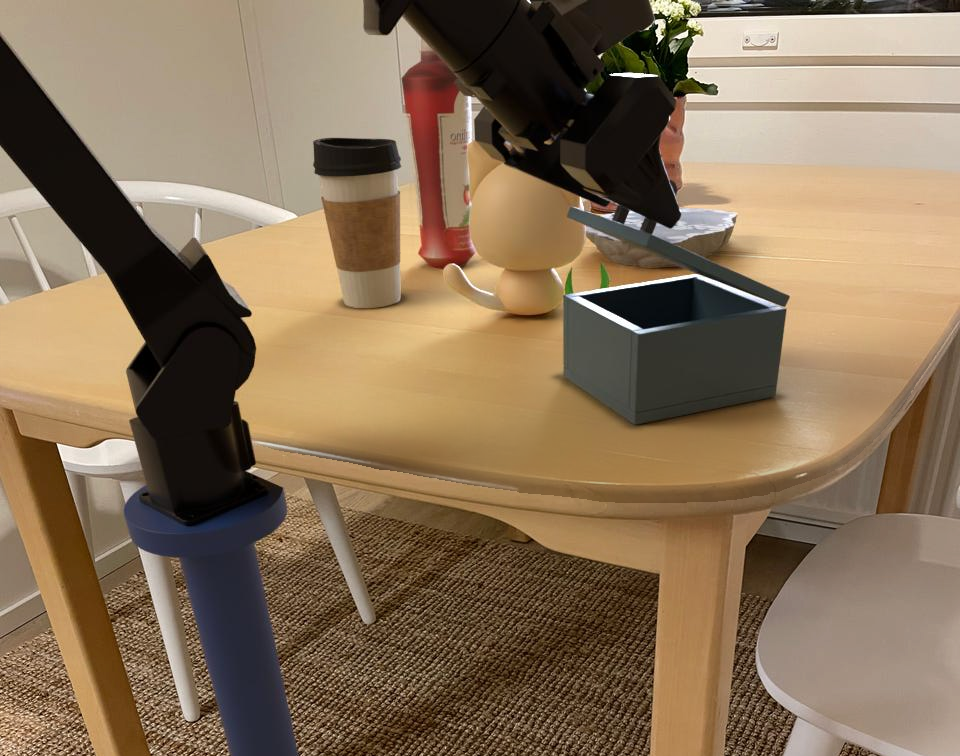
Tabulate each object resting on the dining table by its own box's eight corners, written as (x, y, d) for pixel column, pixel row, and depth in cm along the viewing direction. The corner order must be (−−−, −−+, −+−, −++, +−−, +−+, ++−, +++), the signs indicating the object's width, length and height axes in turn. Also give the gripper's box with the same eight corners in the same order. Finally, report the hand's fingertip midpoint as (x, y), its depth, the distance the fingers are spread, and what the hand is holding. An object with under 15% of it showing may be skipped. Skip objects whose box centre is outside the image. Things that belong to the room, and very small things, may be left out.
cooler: (634, 425, 67) (638, 334, 64) (562, 376, 76) (562, 294, 73) (775, 397, 70) (787, 308, 67) (690, 353, 80) (696, 273, 76)
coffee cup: (336, 292, 102) (316, 135, 94) (415, 288, 102) (401, 130, 94) (327, 314, 95) (303, 147, 87) (411, 309, 95) (396, 141, 87)
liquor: (437, 254, 115) (417, -29, 99) (490, 257, 112) (478, -33, 96) (405, 268, 110) (378, -28, 94) (460, 272, 107) (442, -33, 91)
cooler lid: (645, 246, 60) (675, 174, 59) (565, 216, 70) (590, 153, 68) (785, 307, 67) (816, 244, 65) (695, 272, 76) (720, 216, 74)
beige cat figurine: (624, 304, 93) (630, 131, 84) (588, 333, 85) (590, 147, 77) (486, 293, 99) (479, 131, 90) (441, 320, 91) (429, 146, 83)
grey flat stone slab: (625, 229, 121) (625, 204, 120) (754, 238, 113) (757, 211, 112) (549, 264, 108) (549, 236, 106) (690, 277, 100) (692, 247, 98)
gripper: (655, -111, 47) (807, 121, 56) (510, -80, 62) (650, 101, 71) (512, 84, 49) (682, 277, 59) (405, 70, 64) (554, 226, 73)
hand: (640, 211), depth 65 cm, fingers open, 9 cm apart
